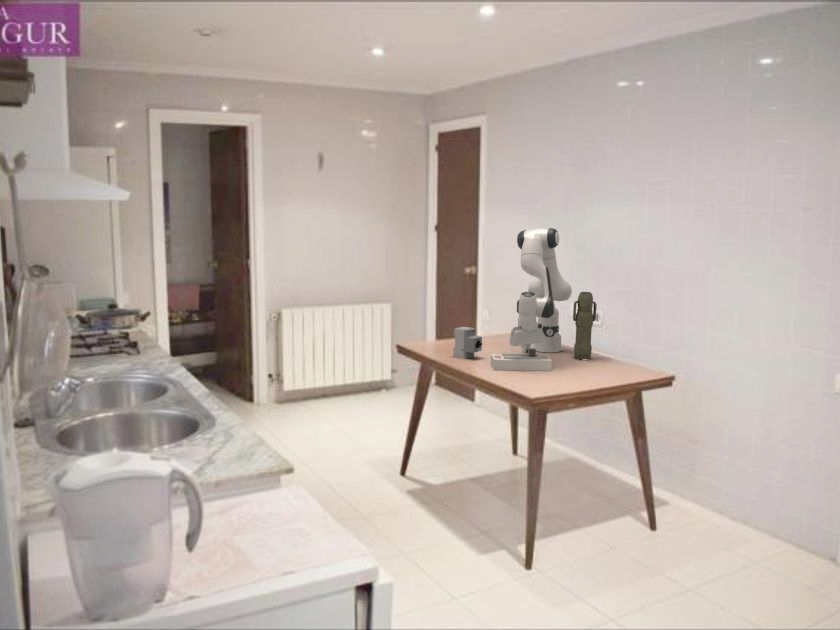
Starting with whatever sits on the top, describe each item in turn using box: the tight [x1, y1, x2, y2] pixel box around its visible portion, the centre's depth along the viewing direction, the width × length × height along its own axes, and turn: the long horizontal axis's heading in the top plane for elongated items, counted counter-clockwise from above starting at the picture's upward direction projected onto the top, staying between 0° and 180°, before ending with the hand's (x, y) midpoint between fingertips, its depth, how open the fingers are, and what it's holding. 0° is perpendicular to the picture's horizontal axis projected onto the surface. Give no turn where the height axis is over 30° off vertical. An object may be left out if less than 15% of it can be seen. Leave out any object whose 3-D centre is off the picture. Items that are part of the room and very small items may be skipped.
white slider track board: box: [490, 353, 553, 372], centre depth 355 cm, size 13×28×6 cm, turn 91°
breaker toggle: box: [528, 348, 537, 357], centre depth 354 cm, size 3×3×4 cm
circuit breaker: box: [452, 326, 483, 360], centre depth 375 cm, size 8×14×15 cm, turn 53°
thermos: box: [572, 291, 597, 360], centre depth 376 cm, size 9×12×35 cm
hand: (525, 353), depth 354 cm, fingers closed
